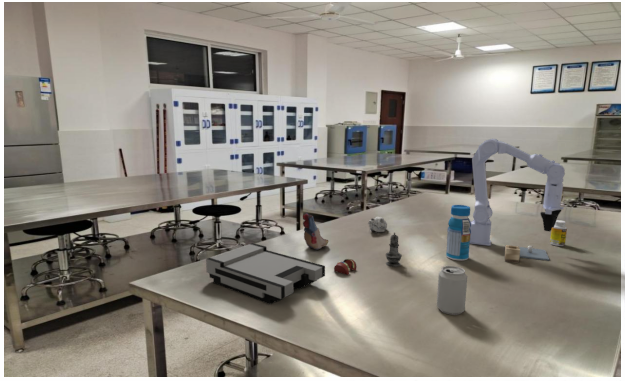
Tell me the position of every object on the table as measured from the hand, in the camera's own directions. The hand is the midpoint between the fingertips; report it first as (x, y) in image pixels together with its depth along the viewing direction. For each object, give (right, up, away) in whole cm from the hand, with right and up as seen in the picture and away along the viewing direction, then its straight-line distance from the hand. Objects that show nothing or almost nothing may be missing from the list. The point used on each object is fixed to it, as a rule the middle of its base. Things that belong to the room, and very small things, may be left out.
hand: (549, 228), depth 158 cm
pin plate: (-7, -10, +1) cm, 12 cm away
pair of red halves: (-81, -13, -18) cm, 84 cm away
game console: (-108, -15, -29) cm, 113 cm away
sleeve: (-18, -11, -7) cm, 22 cm away
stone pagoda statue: (-63, -12, -11) cm, 66 cm away
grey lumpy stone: (-63, -4, +31) cm, 70 cm away
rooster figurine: (-92, -9, +7) cm, 92 cm away
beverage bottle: (-38, -11, -4) cm, 39 cm away
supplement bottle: (+11, -8, +12) cm, 18 cm away
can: (-54, -18, -46) cm, 74 cm away
